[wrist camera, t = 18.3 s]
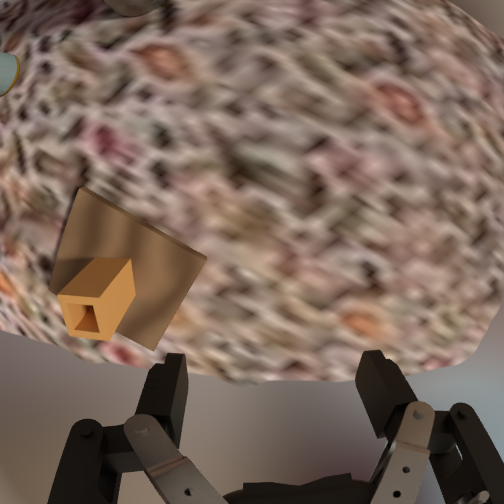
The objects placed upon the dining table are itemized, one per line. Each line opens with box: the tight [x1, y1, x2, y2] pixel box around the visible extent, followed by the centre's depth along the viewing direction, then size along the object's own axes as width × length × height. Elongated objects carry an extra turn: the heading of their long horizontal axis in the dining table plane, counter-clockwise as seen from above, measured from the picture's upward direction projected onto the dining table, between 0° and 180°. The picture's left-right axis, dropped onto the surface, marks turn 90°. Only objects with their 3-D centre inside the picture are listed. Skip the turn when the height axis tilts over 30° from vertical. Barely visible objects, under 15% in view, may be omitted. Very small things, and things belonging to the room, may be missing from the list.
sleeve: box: [58, 258, 136, 341], centre depth 35 cm, size 6×6×11 cm
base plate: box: [48, 187, 207, 351], centre depth 38 cm, size 20×18×6 cm
